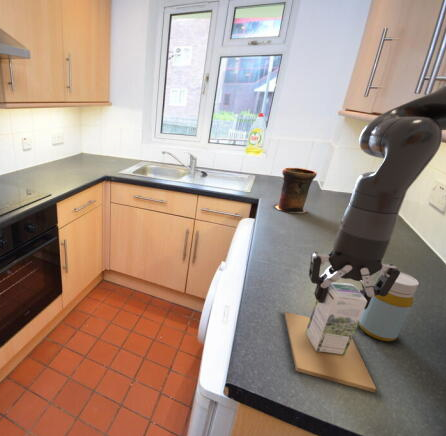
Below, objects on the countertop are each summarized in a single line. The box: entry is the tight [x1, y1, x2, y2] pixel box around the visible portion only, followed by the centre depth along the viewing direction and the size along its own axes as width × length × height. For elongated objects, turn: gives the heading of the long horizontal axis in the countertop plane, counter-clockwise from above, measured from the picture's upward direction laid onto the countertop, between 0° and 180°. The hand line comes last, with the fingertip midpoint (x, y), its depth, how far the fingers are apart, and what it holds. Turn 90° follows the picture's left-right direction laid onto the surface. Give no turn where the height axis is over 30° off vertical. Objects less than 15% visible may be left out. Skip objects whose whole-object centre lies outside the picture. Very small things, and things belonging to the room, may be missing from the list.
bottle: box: [358, 271, 420, 342], centre depth 67 cm, size 7×7×15 cm
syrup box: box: [306, 281, 367, 355], centre depth 62 cm, size 6×6×14 cm
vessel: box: [275, 167, 318, 214], centre depth 147 cm, size 14×14×20 cm
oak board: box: [284, 311, 377, 394], centre depth 65 cm, size 13×18×1 cm
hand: (338, 304), depth 61 cm, fingers closed on syrup box, 6 cm apart
